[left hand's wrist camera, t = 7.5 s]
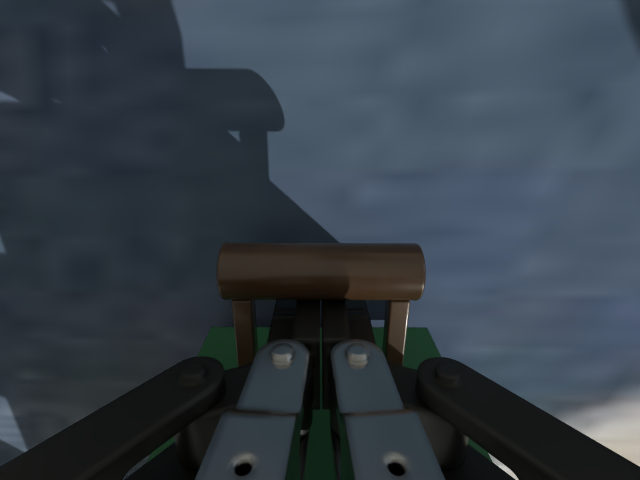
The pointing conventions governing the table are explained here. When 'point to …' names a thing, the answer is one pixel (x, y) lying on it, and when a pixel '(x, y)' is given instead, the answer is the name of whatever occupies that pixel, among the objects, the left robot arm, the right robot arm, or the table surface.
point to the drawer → (320, 284)
